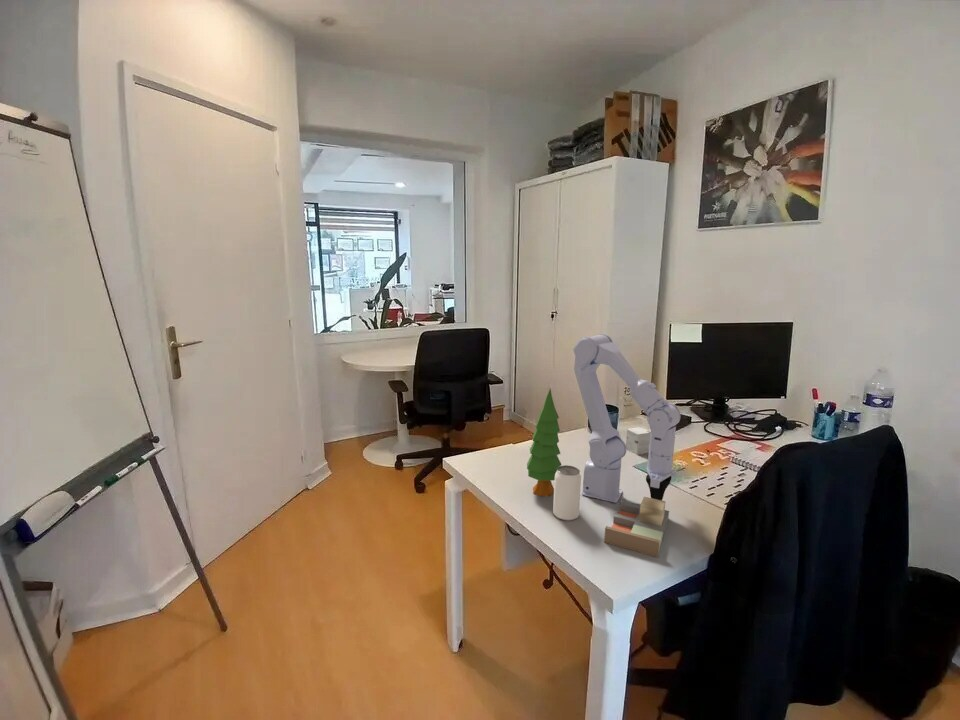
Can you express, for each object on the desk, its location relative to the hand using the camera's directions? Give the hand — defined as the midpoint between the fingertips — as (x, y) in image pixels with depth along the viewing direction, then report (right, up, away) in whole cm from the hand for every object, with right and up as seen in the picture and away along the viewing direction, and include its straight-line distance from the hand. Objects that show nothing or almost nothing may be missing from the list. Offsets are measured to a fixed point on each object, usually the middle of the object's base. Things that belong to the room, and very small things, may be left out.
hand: (656, 503), depth 119 cm
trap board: (-7, -4, -7) cm, 11 cm away
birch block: (-3, -2, -6) cm, 7 cm away
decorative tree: (-28, 0, +12) cm, 30 cm away
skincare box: (+10, +5, +42) cm, 44 cm away
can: (-23, -3, -1) cm, 23 cm away
